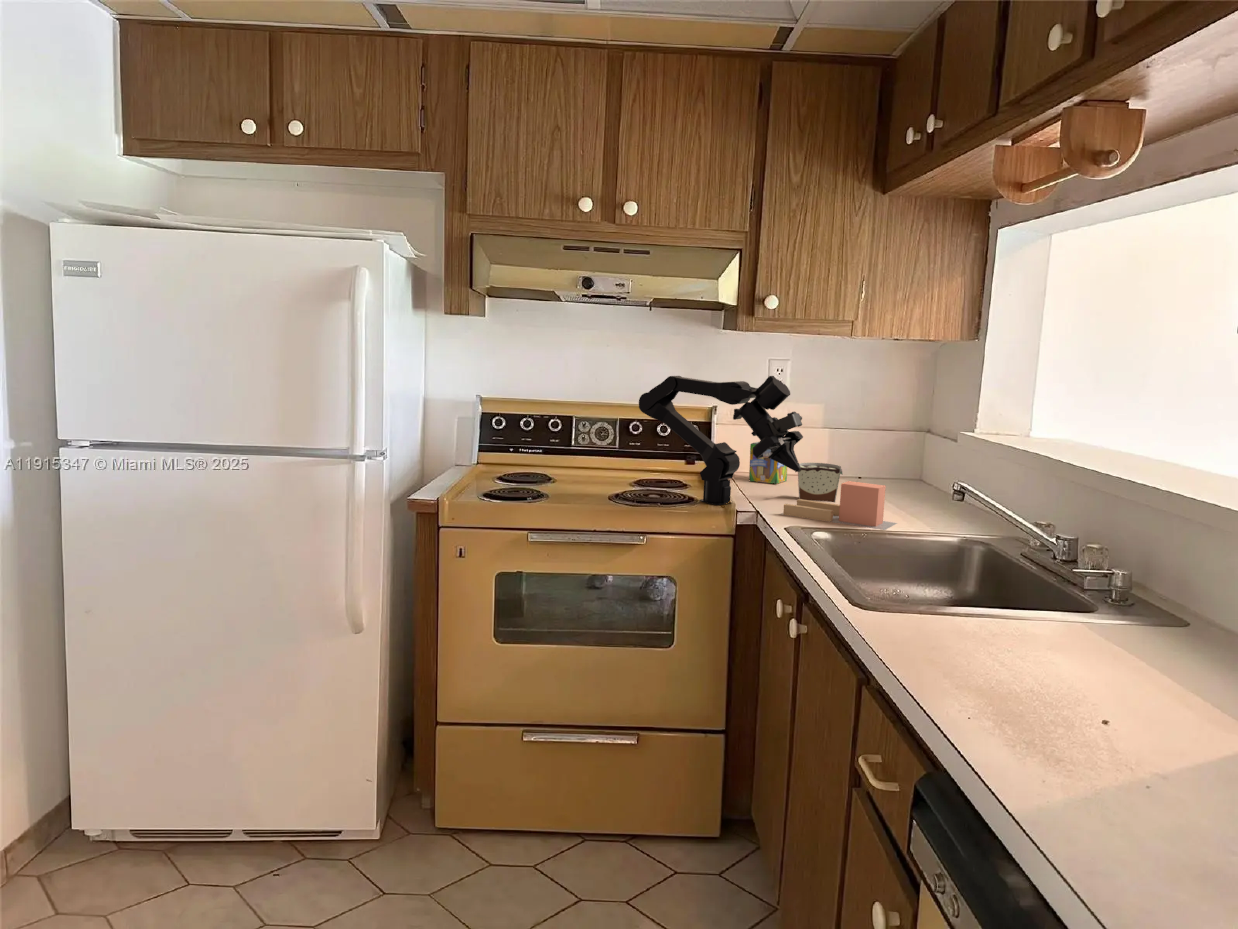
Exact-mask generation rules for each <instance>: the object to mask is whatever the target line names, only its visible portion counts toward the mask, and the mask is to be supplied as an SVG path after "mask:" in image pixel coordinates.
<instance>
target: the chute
mask: <svg viewBox="0 0 1238 929" xmlns="http://www.w3.org/2000/svg"><path fill="white" fill-rule="evenodd" d="M839 509H840V503H838V504H836V503H832V502H825V501H813V500H803V499H799V498H798V499H796V504H791V503H785V504H783V512H780V515H782V516H787V517H795V518H803V519H810V520H815V521H824V522H829V523H834V524H840V525H841V524H842V525H847V526H854V527H862V528H867V529H868V528H869V529H876V530H882V531H886V530H888V529H890V528H892V527H893V526H895V525H897V524H898V523H897V522H893V521H892V522H891V521H886V520H883V523H882V524H880V525H878V526H869V525H863V524H856V523H849V522H843V521H839Z"/></svg>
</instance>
